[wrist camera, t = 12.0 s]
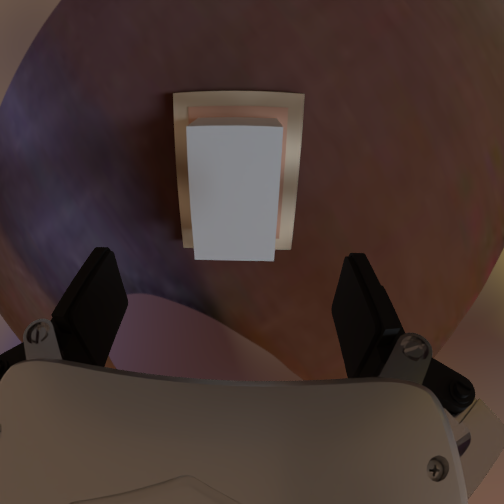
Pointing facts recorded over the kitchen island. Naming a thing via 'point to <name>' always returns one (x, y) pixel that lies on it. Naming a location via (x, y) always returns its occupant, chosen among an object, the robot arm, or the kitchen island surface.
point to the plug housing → (234, 186)
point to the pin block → (243, 105)
